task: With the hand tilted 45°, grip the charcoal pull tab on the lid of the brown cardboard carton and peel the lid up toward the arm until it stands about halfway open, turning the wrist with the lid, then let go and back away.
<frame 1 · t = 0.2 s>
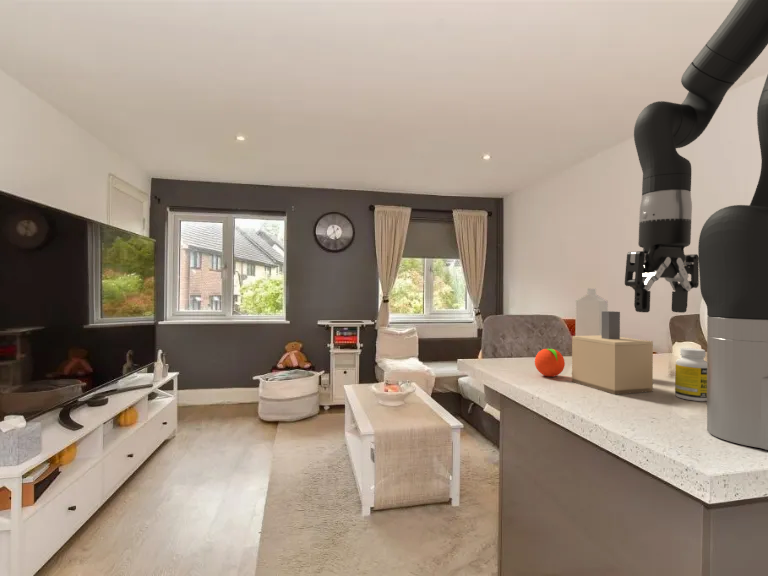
hand: (660, 312, 71), 17 cm above the countertop, tool pointing down, fingers open, 8 cm apart
carton: (610, 386, 89), on the countertop
clementine: (550, 377, 99), on the countertop
supplement bottle: (691, 399, 80), on the countertop
milk: (591, 372, 106), on the countertop
lid: (610, 326, 89), point 13 cm above the countertop, hinge at 0.0°
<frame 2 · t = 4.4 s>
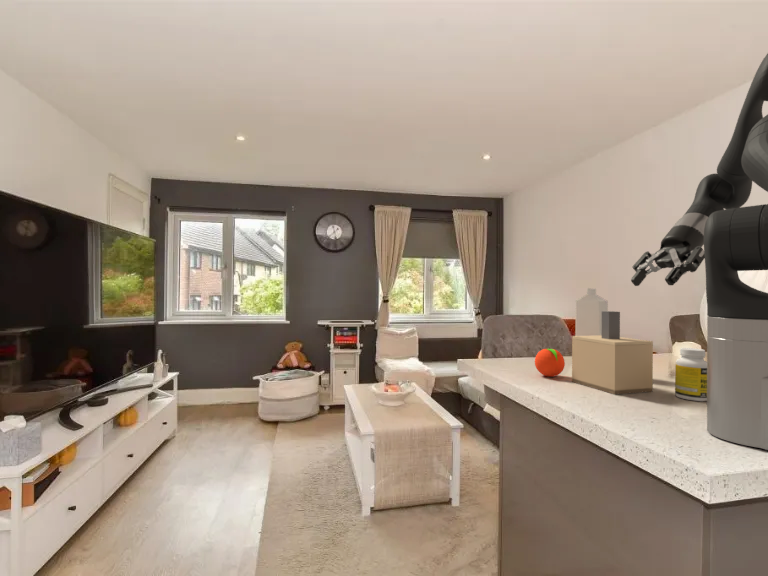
hand: (650, 283, 93), 23 cm above the countertop, tool tilted 45°, fingers open, 8 cm apart
nothing on the countertop moved.
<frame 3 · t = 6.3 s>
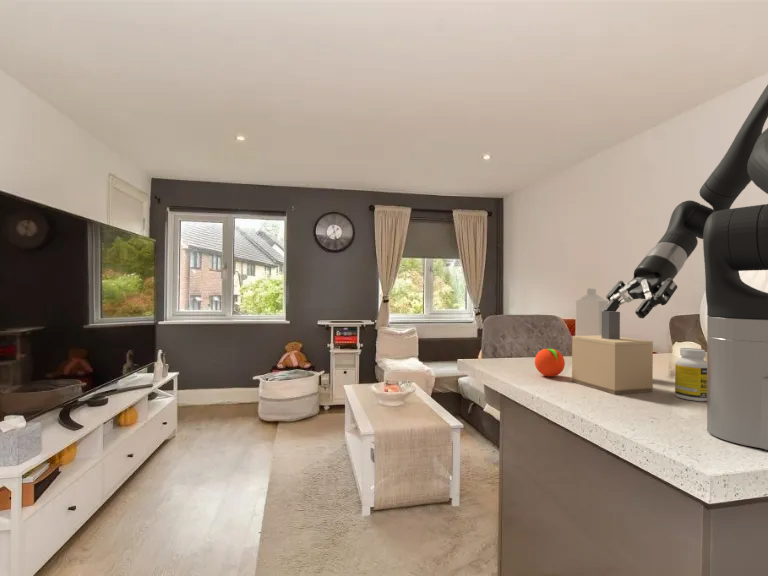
hand: (622, 314, 91), 16 cm above the countertop, tool tilted 45°, fingers open, 8 cm apart
nothing on the countertop moved.
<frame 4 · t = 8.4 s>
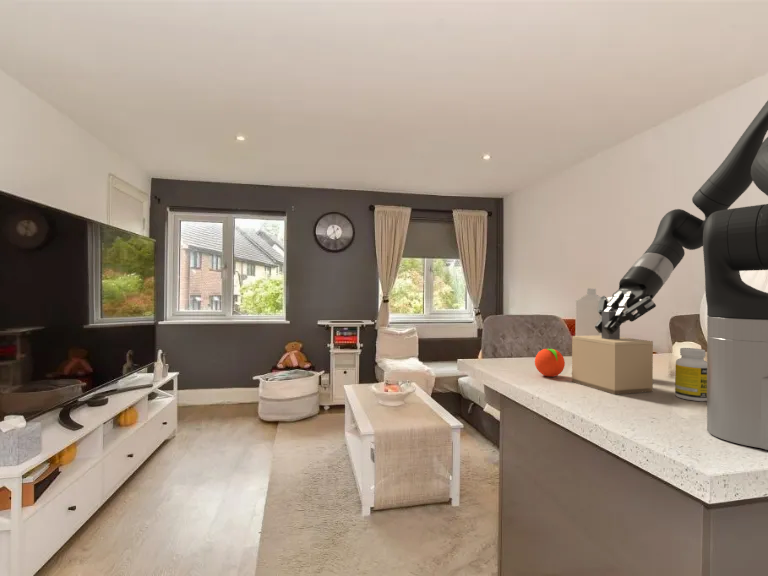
hand: (602, 330, 89), 12 cm above the countertop, tool tilted 45°, fingers closed on lid, 2 cm apart
lid: (610, 326, 89), point 13 cm above the countertop, hinge at 0.0°, touching gripper
everything else where it was.
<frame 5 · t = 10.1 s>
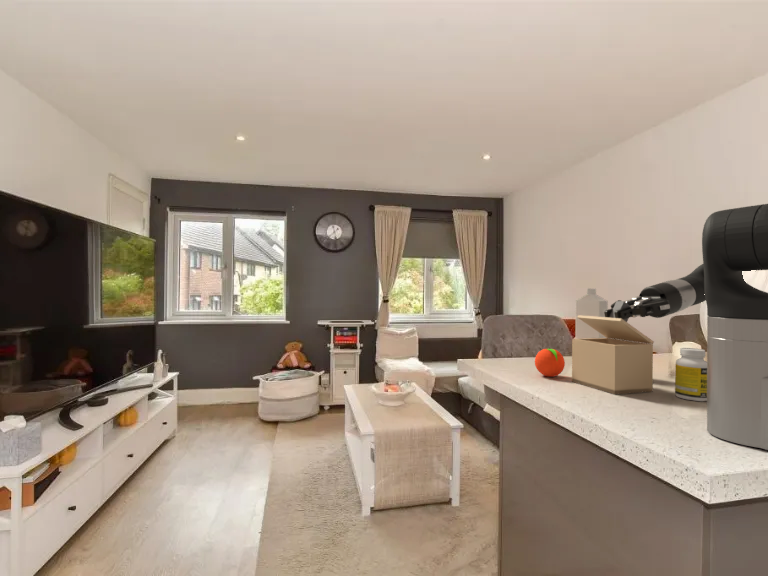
hand: (611, 315, 90), 16 cm above the countertop, tool horizontal, fingers closed on lid, 2 cm apart
lid: (619, 317, 90), point 15 cm above the countertop, hinge at 29.8°, touching gripper
everything else where it was.
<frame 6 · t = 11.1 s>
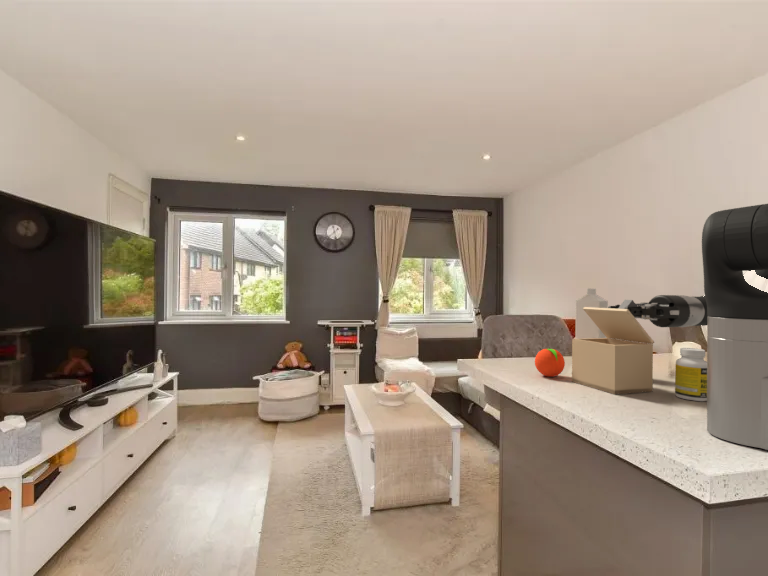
hand: (617, 311, 90), 17 cm above the countertop, tool horizontal, fingers open, 4 cm apart
lid: (624, 314, 91), point 16 cm above the countertop, hinge at 44.3°
everything else where it was.
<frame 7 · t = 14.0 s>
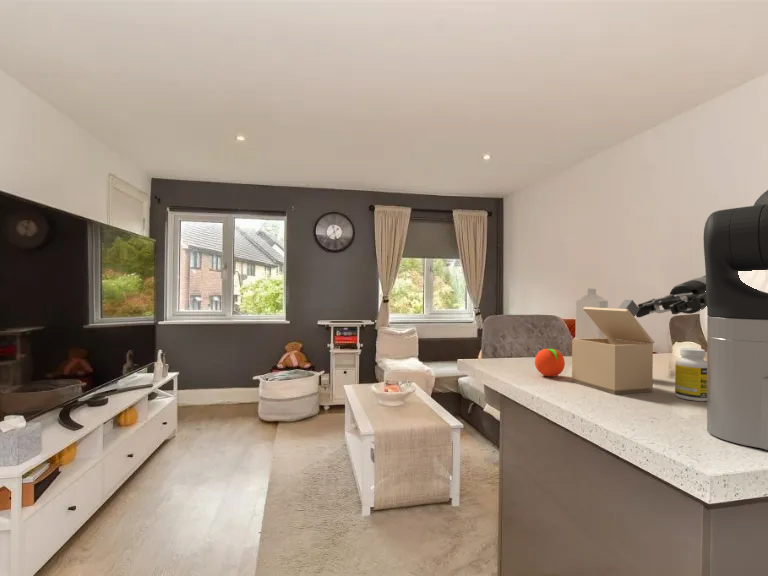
hand: (653, 311, 93), 17 cm above the countertop, tool horizontal, fingers open, 8 cm apart
nothing on the countertop moved.
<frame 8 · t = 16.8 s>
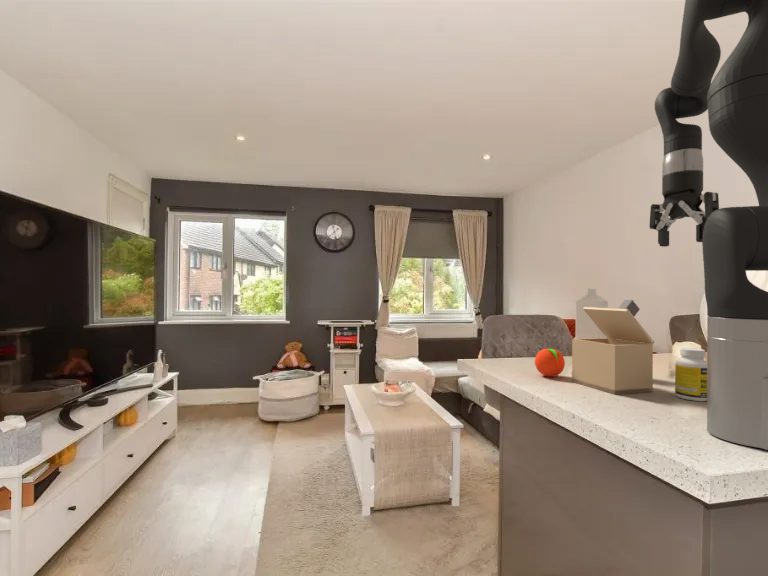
hand: (681, 244, 91), 32 cm above the countertop, tool pointing down, fingers open, 8 cm apart
nothing on the countertop moved.
at the end: lid at +44° (first picture: +0°); clementine moved 0.2 cm from its start; milk moved 0.2 cm from its start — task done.
